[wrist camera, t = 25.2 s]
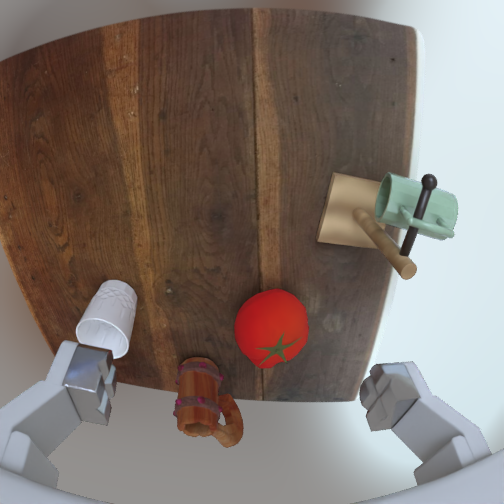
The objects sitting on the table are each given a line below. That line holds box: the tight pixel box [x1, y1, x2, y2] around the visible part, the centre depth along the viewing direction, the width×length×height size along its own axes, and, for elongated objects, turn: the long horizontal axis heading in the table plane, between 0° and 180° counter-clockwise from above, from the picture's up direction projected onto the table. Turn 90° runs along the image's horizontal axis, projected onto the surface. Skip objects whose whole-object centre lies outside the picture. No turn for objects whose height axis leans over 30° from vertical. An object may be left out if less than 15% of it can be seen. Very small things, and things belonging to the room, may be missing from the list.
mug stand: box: [316, 172, 437, 280], centre depth 36 cm, size 15×10×16 cm, turn 171°
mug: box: [173, 357, 243, 448], centre depth 52 cm, size 15×8×15 cm, turn 42°
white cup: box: [76, 280, 137, 359], centre depth 44 cm, size 8×8×10 cm
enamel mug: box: [374, 172, 458, 240], centre depth 33 cm, size 10×6×9 cm
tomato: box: [234, 288, 309, 368], centre depth 47 cm, size 11×13×10 cm
